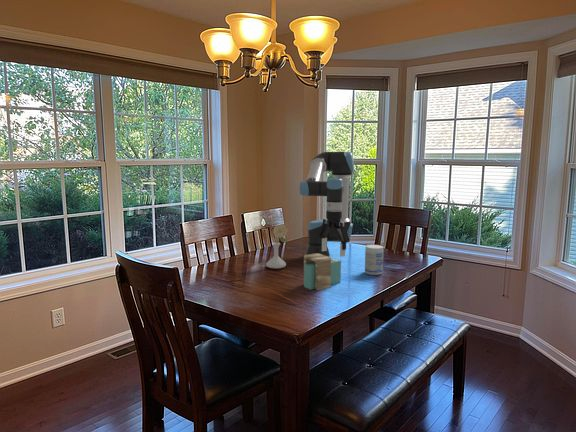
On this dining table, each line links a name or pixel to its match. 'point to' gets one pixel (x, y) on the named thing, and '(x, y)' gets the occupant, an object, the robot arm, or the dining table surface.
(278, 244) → the flower in vase
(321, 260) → the tunnel
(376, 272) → the supplement tub
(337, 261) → the beige-capped teal block
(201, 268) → the dining table surface
